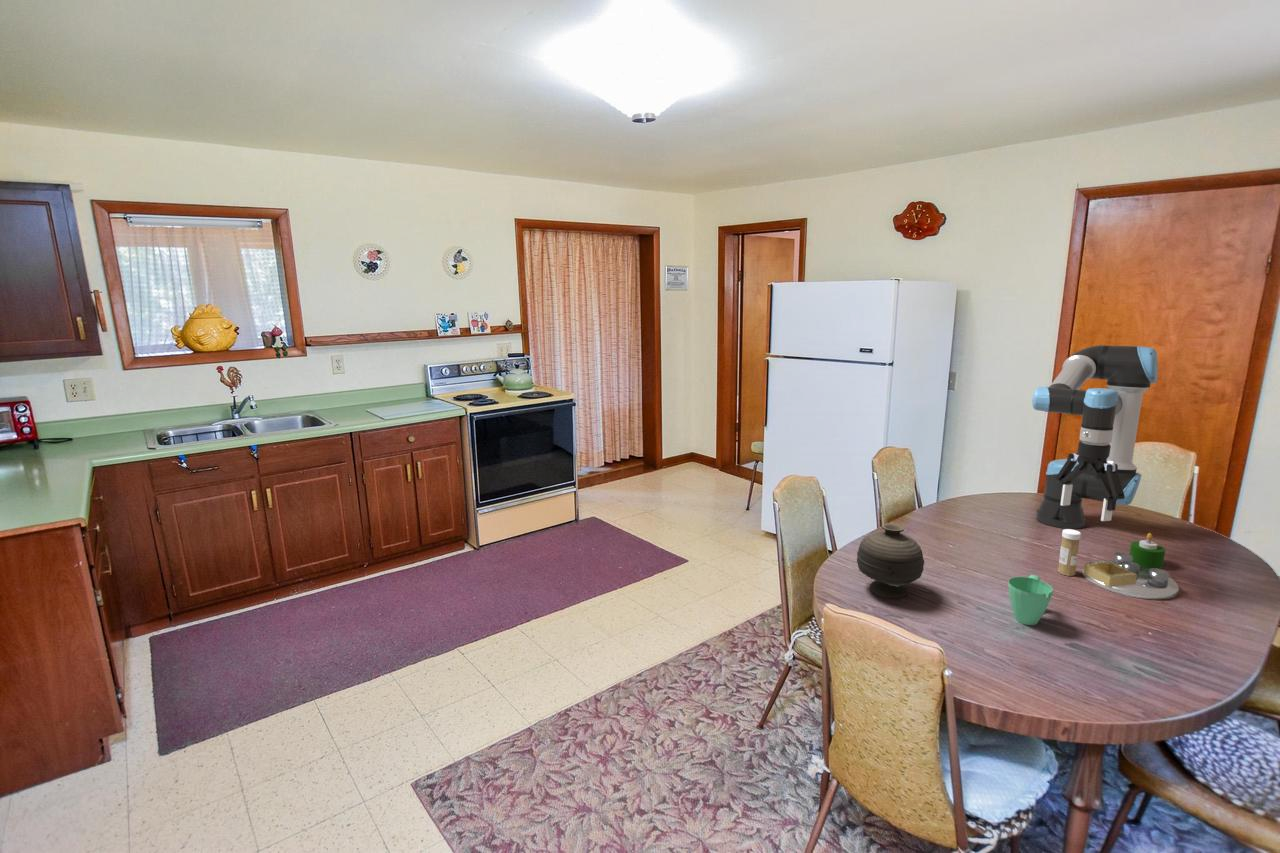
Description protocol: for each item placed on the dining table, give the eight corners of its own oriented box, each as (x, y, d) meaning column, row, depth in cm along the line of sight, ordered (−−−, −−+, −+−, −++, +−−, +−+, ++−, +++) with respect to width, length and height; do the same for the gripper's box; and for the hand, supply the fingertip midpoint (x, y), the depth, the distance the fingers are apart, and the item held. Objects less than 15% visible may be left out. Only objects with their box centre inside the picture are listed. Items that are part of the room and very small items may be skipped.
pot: (869, 567, 192) (878, 508, 186) (928, 591, 179) (939, 528, 174) (841, 588, 180) (849, 526, 174) (902, 615, 167) (913, 548, 162)
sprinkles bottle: (1077, 577, 184) (1083, 534, 181) (1059, 575, 185) (1065, 533, 183) (1072, 570, 188) (1078, 529, 185) (1055, 569, 190) (1060, 527, 187)
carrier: (1064, 568, 190) (1066, 551, 189) (1128, 562, 193) (1130, 546, 192) (1128, 602, 169) (1131, 584, 168) (1199, 596, 171) (1202, 577, 170)
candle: (1163, 562, 193) (1168, 532, 191) (1161, 571, 187) (1166, 540, 185) (1129, 555, 198) (1134, 526, 196) (1126, 563, 192) (1131, 533, 190)
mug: (1046, 634, 154) (1051, 598, 152) (1001, 622, 160) (1005, 587, 158) (1052, 610, 165) (1056, 576, 163) (1009, 600, 171) (1013, 566, 169)
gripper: (1047, 434, 189) (1039, 500, 193) (1124, 453, 165) (1113, 528, 170) (1068, 432, 190) (1060, 498, 195) (1148, 452, 167) (1136, 526, 171)
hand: (1084, 512), depth 182 cm, fingers open, 13 cm apart
